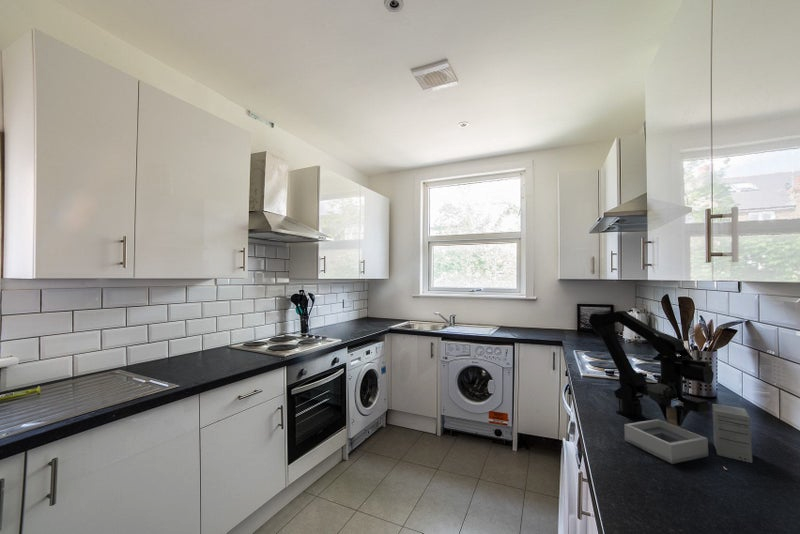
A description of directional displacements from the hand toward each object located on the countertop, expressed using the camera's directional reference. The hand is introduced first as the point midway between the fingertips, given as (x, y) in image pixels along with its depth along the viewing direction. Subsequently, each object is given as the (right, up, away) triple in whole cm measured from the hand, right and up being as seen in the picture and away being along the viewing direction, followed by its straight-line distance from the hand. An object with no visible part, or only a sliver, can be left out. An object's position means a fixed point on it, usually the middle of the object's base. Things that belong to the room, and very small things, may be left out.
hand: (673, 423), depth 112 cm
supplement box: (+4, -2, -15) cm, 16 cm away
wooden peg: (0, -2, 0) cm, 2 cm away
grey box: (-12, -2, -12) cm, 17 cm away
